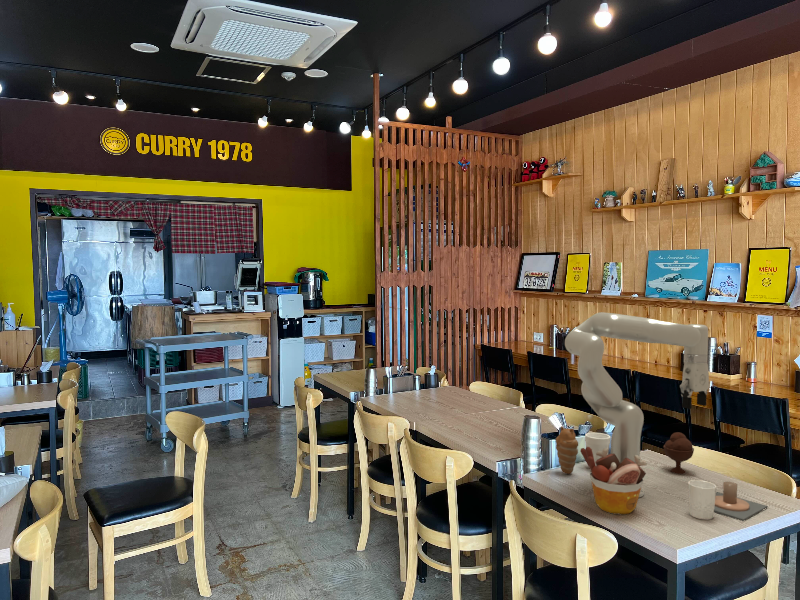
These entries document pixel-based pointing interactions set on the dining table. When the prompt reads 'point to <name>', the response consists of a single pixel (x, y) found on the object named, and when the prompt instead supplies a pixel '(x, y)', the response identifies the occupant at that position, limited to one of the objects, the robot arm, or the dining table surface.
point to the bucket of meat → (615, 481)
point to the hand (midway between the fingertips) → (694, 406)
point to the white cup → (701, 499)
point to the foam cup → (597, 443)
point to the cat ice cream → (567, 449)
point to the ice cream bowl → (678, 451)
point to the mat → (741, 515)
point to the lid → (730, 499)
